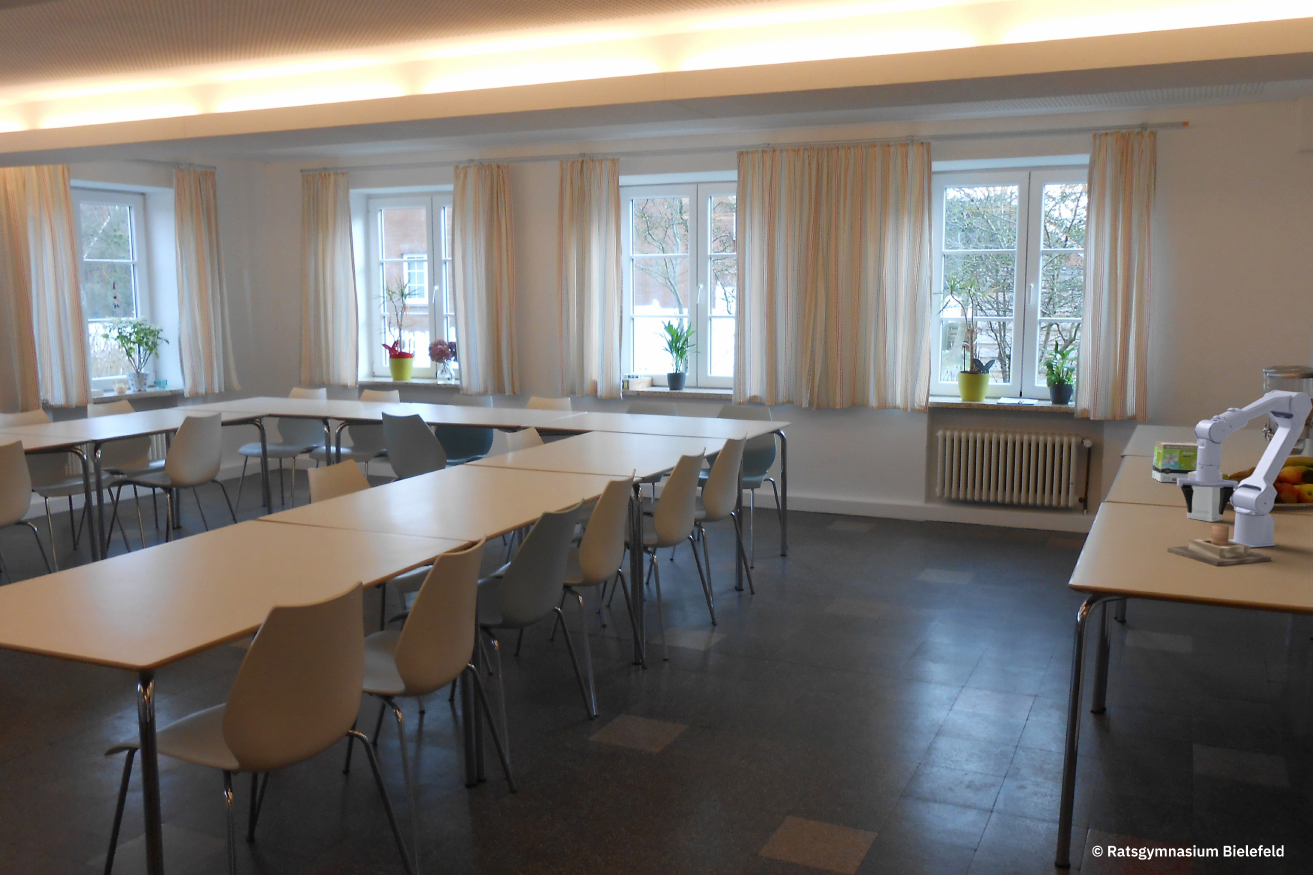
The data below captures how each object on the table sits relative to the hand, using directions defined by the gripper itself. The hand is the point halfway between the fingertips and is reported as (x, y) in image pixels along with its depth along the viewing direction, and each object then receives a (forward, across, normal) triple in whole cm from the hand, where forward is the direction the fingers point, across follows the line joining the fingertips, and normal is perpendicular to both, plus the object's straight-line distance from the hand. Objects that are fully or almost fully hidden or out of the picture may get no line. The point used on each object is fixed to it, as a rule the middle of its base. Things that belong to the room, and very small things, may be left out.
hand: (1205, 513), depth 274 cm
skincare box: (+10, -8, -41) cm, 43 cm away
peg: (+8, -2, +10) cm, 13 cm away
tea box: (+10, -13, -114) cm, 116 cm away
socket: (+9, -2, +10) cm, 14 cm away
